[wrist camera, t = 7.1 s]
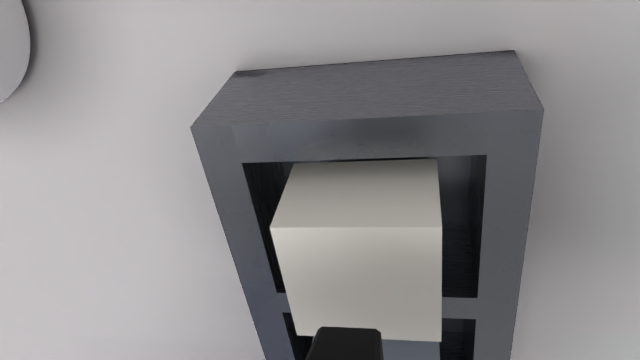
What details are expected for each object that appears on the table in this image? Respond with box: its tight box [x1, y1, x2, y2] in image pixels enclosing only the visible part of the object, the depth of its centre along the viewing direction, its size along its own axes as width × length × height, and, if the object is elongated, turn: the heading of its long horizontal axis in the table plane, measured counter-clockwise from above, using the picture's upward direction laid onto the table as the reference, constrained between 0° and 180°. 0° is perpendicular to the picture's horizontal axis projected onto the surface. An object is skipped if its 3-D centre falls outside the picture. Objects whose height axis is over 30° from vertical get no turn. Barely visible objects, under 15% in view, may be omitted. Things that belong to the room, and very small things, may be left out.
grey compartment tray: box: [190, 50, 544, 360], centre depth 19 cm, size 20×9×4 cm, turn 8°
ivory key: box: [270, 159, 442, 342], centre depth 14 cm, size 4×4×3 cm
